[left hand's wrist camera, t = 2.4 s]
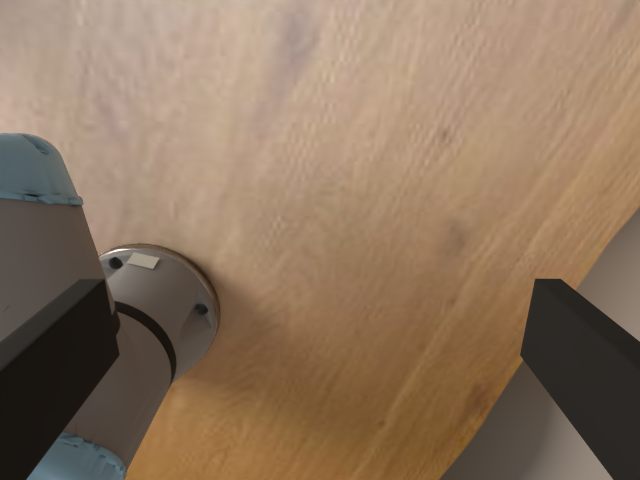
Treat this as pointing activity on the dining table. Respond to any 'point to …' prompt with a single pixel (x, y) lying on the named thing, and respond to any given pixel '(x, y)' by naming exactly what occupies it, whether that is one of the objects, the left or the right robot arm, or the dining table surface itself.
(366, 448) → the dining table surface
